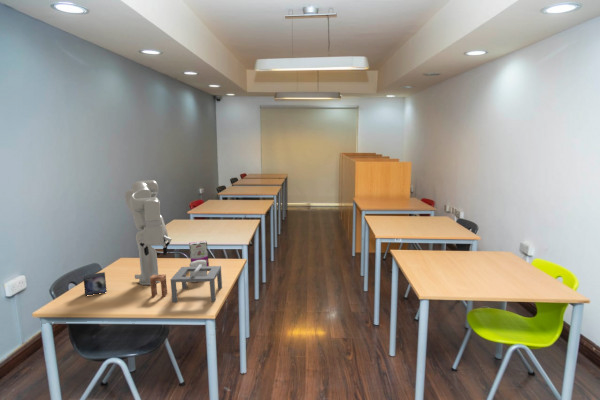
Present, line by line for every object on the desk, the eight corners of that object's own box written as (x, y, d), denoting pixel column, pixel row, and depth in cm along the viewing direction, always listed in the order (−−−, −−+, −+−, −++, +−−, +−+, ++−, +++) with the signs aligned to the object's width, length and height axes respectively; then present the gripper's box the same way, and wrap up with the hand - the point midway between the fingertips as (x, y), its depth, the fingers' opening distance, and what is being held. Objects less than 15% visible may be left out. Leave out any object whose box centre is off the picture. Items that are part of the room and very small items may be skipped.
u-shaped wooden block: (151, 297, 205) (150, 277, 203) (154, 294, 209) (152, 274, 207) (164, 296, 205) (163, 277, 203) (167, 293, 209) (165, 274, 207)
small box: (85, 297, 207) (82, 278, 205) (85, 293, 213) (83, 275, 211) (106, 293, 212) (104, 275, 210) (106, 289, 217) (104, 271, 216)
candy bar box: (207, 264, 257) (206, 240, 254) (209, 266, 252) (207, 242, 250) (190, 266, 253) (188, 242, 250) (191, 268, 248) (189, 244, 245)
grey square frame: (172, 302, 198) (170, 275, 195) (183, 288, 217) (181, 263, 214) (214, 301, 198) (213, 274, 195) (222, 287, 217) (220, 262, 214)
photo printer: (206, 277, 232) (204, 257, 230) (208, 279, 229) (207, 259, 227) (189, 281, 227) (187, 261, 225) (191, 283, 223) (190, 263, 221)
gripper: (133, 225, 197) (136, 257, 199) (167, 224, 197) (170, 256, 199) (139, 222, 204) (142, 253, 207) (172, 221, 204) (174, 252, 207)
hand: (156, 254), depth 203 cm, fingers open, 9 cm apart
